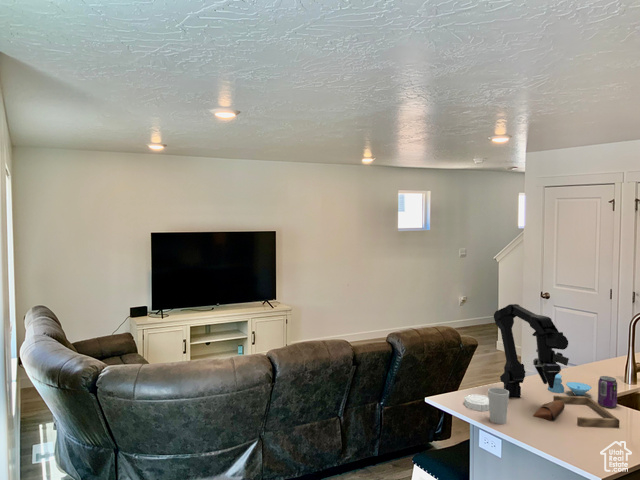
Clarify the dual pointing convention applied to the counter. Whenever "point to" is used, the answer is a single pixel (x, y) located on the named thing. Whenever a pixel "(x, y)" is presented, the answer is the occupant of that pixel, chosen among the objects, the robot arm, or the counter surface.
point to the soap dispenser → (574, 386)
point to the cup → (498, 404)
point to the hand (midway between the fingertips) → (548, 386)
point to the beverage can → (607, 391)
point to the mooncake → (477, 402)
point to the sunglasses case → (550, 410)
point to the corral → (607, 418)
